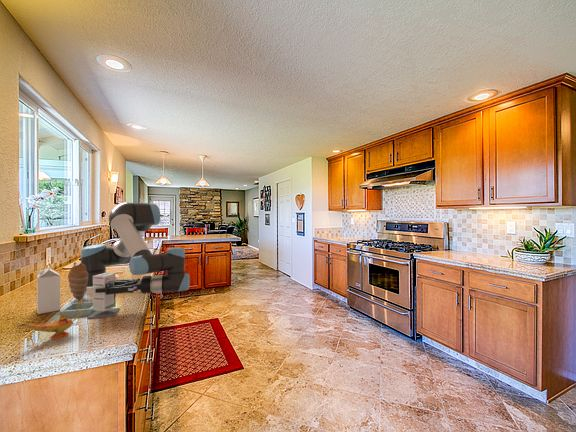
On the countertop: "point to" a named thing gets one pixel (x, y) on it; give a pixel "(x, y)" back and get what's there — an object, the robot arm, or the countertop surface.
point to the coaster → (103, 313)
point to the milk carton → (48, 291)
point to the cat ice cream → (78, 280)
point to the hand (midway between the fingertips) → (90, 288)
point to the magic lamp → (56, 325)
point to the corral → (70, 312)
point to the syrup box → (102, 300)
